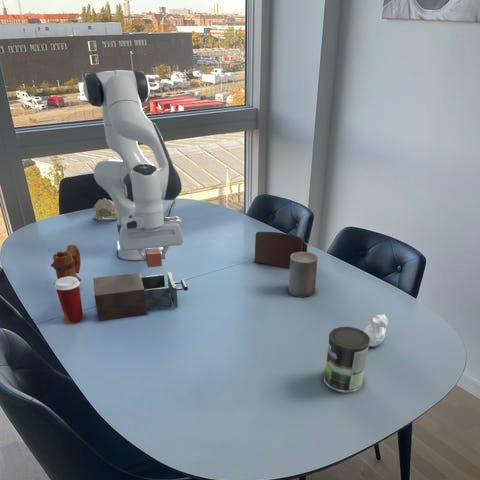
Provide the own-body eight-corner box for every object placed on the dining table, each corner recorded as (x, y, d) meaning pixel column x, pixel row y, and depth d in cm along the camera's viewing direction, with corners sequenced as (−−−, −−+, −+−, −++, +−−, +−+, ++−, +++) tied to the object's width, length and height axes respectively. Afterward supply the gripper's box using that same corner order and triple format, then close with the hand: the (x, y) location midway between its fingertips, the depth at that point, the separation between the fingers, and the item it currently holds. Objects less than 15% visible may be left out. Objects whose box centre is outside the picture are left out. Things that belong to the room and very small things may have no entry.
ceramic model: (90, 219, 240) (86, 200, 235) (99, 213, 249) (96, 194, 244) (116, 221, 238) (113, 202, 233) (124, 214, 247) (121, 195, 242)
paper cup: (91, 315, 155) (84, 277, 148) (77, 326, 149) (69, 287, 142) (71, 311, 158) (63, 274, 150) (56, 322, 151) (47, 284, 144)
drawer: (184, 290, 170) (182, 270, 166) (190, 305, 160) (189, 285, 156) (131, 296, 165) (128, 276, 161) (134, 313, 155) (132, 292, 151)
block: (160, 260, 157) (159, 248, 155) (162, 266, 153) (160, 253, 151) (146, 262, 156) (145, 249, 154) (148, 267, 152) (146, 254, 150)
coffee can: (329, 394, 121) (334, 349, 114) (319, 370, 130) (324, 327, 123) (367, 392, 122) (375, 347, 114) (356, 368, 131) (362, 325, 123)
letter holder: (300, 269, 187) (303, 236, 180) (254, 262, 194) (254, 230, 186) (306, 260, 195) (309, 228, 188) (261, 254, 202) (262, 222, 194)
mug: (73, 297, 167) (65, 258, 159) (52, 294, 168) (43, 256, 161) (92, 279, 179) (85, 242, 171) (72, 277, 181) (65, 241, 173)
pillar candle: (317, 288, 173) (321, 250, 166) (309, 299, 166) (313, 260, 158) (293, 283, 177) (295, 246, 169) (284, 294, 169) (286, 255, 162)
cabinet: (142, 296, 167) (139, 272, 162) (147, 315, 156) (144, 289, 151) (97, 302, 163) (93, 277, 158) (99, 321, 152) (94, 295, 147)
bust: (359, 356, 139) (384, 341, 130) (344, 335, 141) (368, 319, 132) (382, 342, 146) (407, 326, 137) (368, 322, 148) (391, 305, 139)
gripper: (180, 213, 152) (182, 252, 159) (116, 218, 147) (121, 259, 154) (184, 219, 147) (186, 259, 154) (117, 224, 142) (123, 266, 149)
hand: (153, 259), depth 154 cm, fingers closed on block, 4 cm apart
